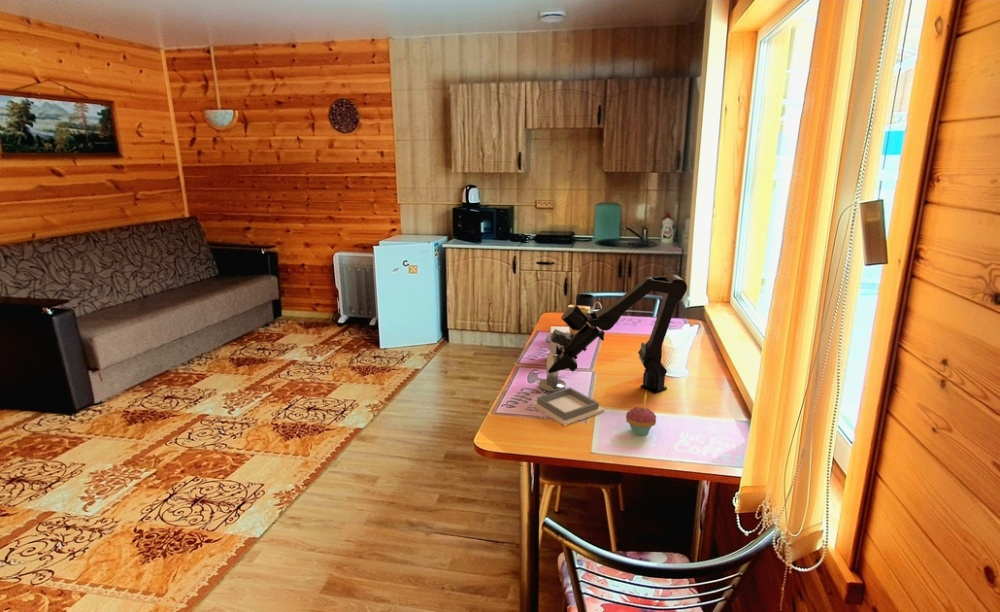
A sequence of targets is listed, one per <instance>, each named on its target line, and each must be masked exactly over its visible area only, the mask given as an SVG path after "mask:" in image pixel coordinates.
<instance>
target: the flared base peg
mask: <svg viewBox="0 0 1000 612" xmlns="http://www.w3.org/2000/svg"><path fill="white" fill-rule="evenodd" d="M556 360H557V353H550V352H549V353H547V354H546V378H544V379H541V380H540V381H539V382H538V383H539V384H538V387H539V388H540V389H541V390H542V391H541V390H540V389H539V390H540V391H541V392H543V391H545V392H544V393H547V392H549V393H548V394H551V393H554V392H557V391H560V390H563V389H566V387H567V385H566V382H565V381H564V380H562V379H560V378H559V373H560V371H557V372H553V373H549V372H548V370H549V369H550V367H551V366H552V365H553V364H554V363H555V361H556Z"/></svg>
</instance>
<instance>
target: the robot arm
mask: <svg viewBox="0 0 1000 612" xmlns="http://www.w3.org/2000/svg"><path fill="white" fill-rule="evenodd" d="M687 290H688V285H687V283H686V281H685V280H684V279H682V278H681V277H680V275H679V276H678V275H677V274H671V275H668V276H663V275H662V276H661V275H660V276H645V277H643V278H642V280H640V281H639V282H638V283H637V284H636V285H634V286H633V287H632V288H631V289H629V290H628V291H627V292H626V293H624V294H623V295H622V296H621V297H619V298H618V299H617V300H616V301H615V302H612V303H610V304H608V305H605V306H602V308H601V309H600V308H599V310H596V311H595V312H594V311H593V313H586V314H585V313H584V312H583V311H582V310H581V309H580V308H579V307H578V306H577V305H576V304H574V305H575V306H574V307H572V308H570V309H568V308H567V309H566V310H565V312H563V314H562V315H561V317H560V319H561V320H562V321H563V322H564V323H565V324H566V325H568V326H569V327H570V328H571V329H572V330H576V331H577V330H579V331H578V332H577V333H576V334H574V333H573V334H571V335H570V336H569V335H567V334H565V333H563V332H561V331H559V330H556V329H555V330H554V332H553V334H552V336H551V341H552V342H554V343H557V344H560V345H559V346H557V345H556V353H557V360H556V361H555V363H554V364H553V365H552V366H551V367H550V369H549V370H548V372H549V373H553V372H557V371H559V372H560V371H564V370H567V369H568V370H569V371H571V372H572V373H573V372H575V371H576V370H577V369H578V362H577V359H578V355H579V354H581V353H582V352H583V351H584V352H586V350H587V347H589V345H590V344H592V343H594V341H595V340H596V339H597V338H599V339H600V340H601V341H604V340H605V331H606V332H607V331H609V330H611V329H612V328H614V326H615V325H616V324H617V323H618V322H619V320H620V318H621V316H622V315H623V314H624V313H626V311H628V310H630V308H632V307H633V306H635V304H637V303H638V302H640V301H641V300H642V299H643V298H644V297H646V296H647V295H648V294H650V293H651V292H658V293H662V302H661V305H660V307H659V310H658V313H657V316H656V319H655V322H654V325H653V327H652V330H651V333H650V337H649V339H648V340H647V341H646V343H645V342H641V343H640V349H639V351H638V352H637V353H638V356H639V357H638V358H639V360H640V362H641V364H642V365H643V368H644V372H643V377H642V384H640V389H644V390H646V391H648V392H650V393H652V394H657V393H659V392H662V391H665V390H666V391H667V389H668V387H667V386H665V381H666V380H665V379H666V375H667V373H668V370H667V368H666V366H664V364H663V362H662V357H663V344H664V341H665V338H666V336H667V333H668V329H669V326H670V324H671V320H672V318H673V315H674V312H675V309H676V306H678V304H679V303H680V302H681V301H682V299H683V298H684V296H685V294H686V293H687ZM585 324H586V325H585ZM584 325H585V326H584ZM583 326H584V327H583Z"/></svg>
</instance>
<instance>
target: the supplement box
mask: <svg viewBox="0 0 1000 612" xmlns="http://www.w3.org/2000/svg"><path fill="white" fill-rule="evenodd" d="M555 329H556V330H559V331H561V332H563V333H565V334H567V335H569V336H570V331H569V327H567V326H555V325H554V326H550V330H549V331H550V334H549V335H550V337H549V339H550V340H549V341H550V342H549V343H550V344H549V347H550V349H549V353H556V345H557V346H559V345H560V344H557V343H554V342H552V341H551V336H552V334H553V332H554V330H555Z"/></svg>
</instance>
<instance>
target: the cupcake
mask: <svg viewBox="0 0 1000 612" xmlns="http://www.w3.org/2000/svg"><path fill="white" fill-rule="evenodd" d="M643 396H644V397H643V405H642V407H641V406H640V407H638V406H637V407H633V408H631V409H630V410H628V411H627V412H626V416H625V419H626V422H627V423H628V424H629V426H630V430H631V432H632V434H634V435H636V434H637V435H636V436H640V435H644V436H647V435H648V434H649V432H650V430H651V428H652V427H653V426H655V425H657V416H656V414H655V412H654V411H653V410H650V409H649V408H647V407H646V403H647V396H648V394H647V391H645V394H644V395H643Z"/></svg>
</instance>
